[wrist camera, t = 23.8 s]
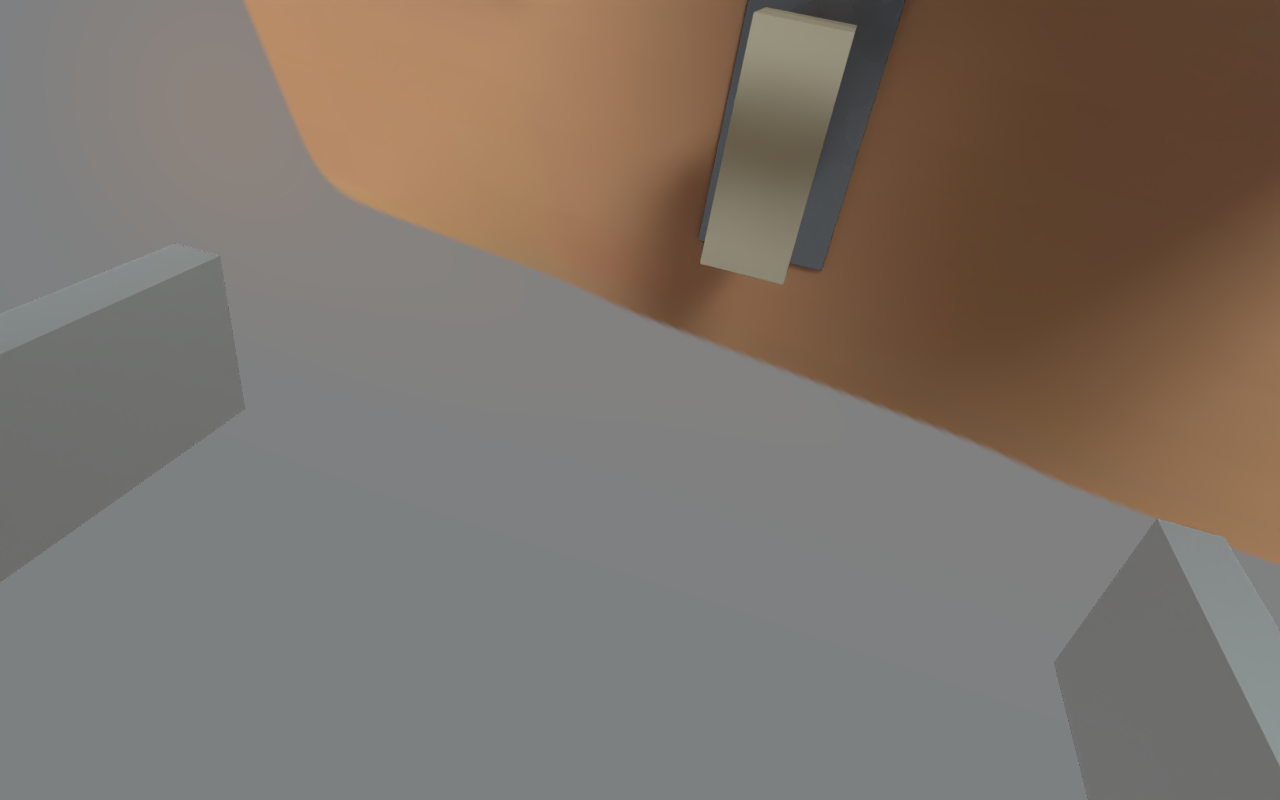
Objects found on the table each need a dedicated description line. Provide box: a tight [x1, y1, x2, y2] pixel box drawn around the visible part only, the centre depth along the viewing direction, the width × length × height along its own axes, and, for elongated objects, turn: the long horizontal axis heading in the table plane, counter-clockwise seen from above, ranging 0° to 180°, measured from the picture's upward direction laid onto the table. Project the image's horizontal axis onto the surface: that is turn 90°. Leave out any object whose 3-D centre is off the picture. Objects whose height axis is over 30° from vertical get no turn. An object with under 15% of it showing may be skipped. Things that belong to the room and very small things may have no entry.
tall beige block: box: [698, 0, 905, 285], centre depth 27 cm, size 15×6×10 cm, turn 171°
